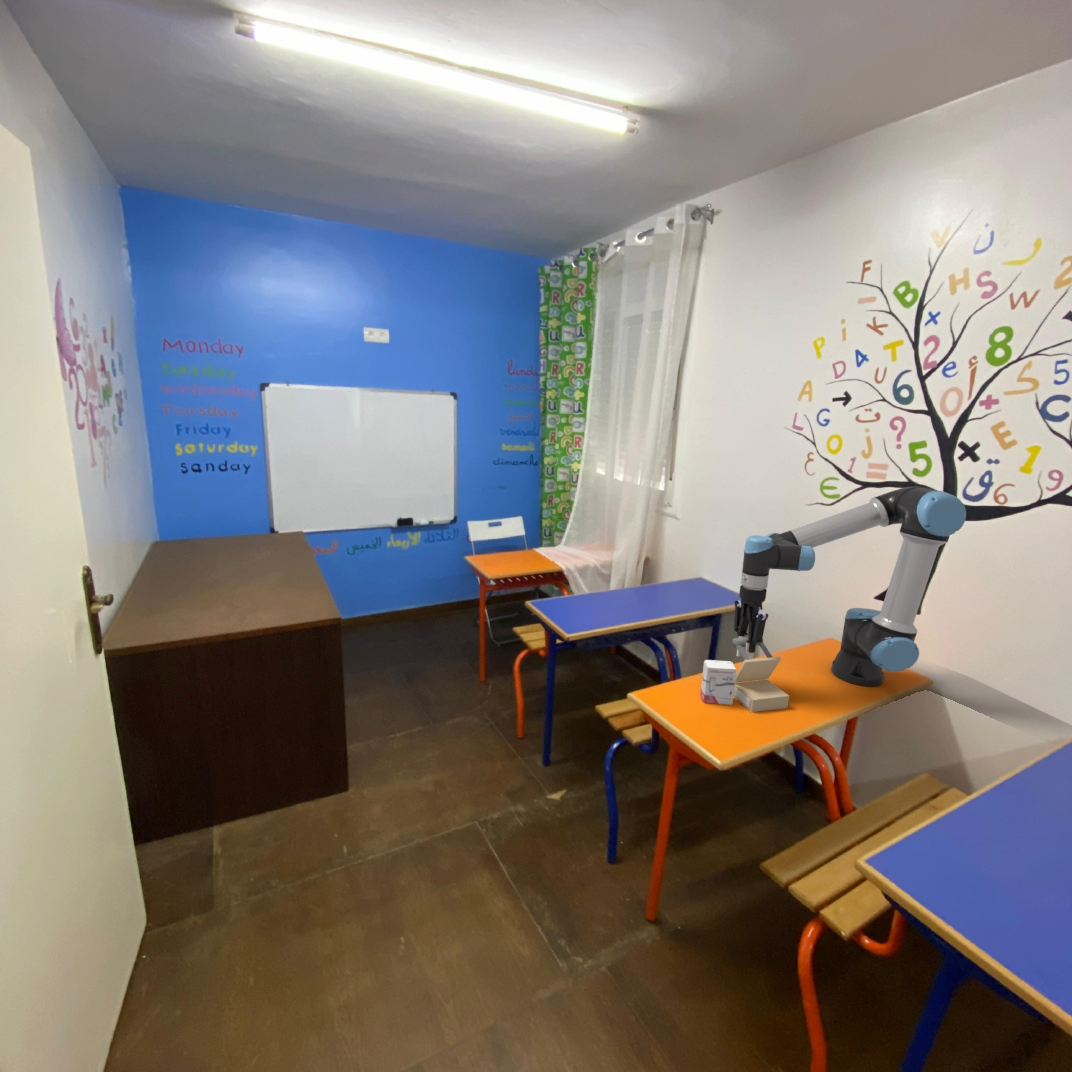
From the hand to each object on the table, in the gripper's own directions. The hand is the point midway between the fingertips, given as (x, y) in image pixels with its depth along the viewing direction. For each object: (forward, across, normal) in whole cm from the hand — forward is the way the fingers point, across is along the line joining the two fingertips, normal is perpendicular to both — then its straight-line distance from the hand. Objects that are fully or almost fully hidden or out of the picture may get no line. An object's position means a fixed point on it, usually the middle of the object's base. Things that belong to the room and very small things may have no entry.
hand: (744, 658), depth 167 cm
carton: (+10, +8, 0) cm, 13 cm away
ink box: (+10, +5, -12) cm, 17 cm away
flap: (+1, +6, 0) cm, 6 cm away
